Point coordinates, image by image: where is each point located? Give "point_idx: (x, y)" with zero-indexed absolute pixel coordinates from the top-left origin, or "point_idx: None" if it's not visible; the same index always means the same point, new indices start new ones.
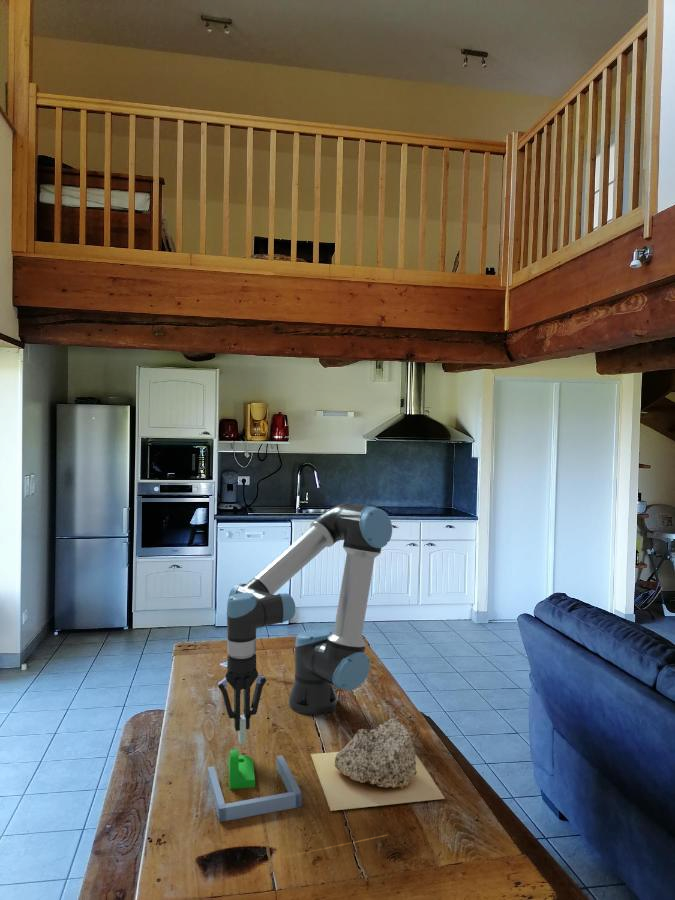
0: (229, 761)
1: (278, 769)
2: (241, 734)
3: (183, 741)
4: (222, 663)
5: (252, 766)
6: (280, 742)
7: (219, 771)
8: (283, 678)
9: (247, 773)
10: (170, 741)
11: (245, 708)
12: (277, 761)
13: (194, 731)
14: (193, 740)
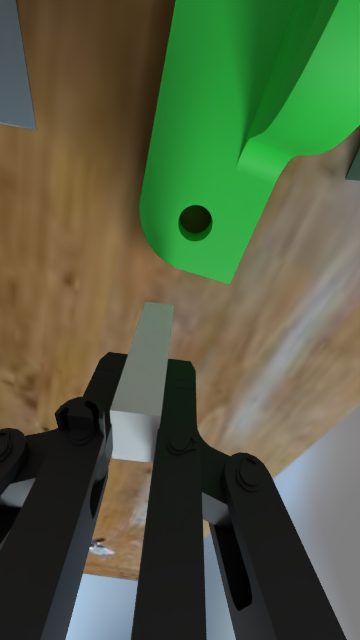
0: (248, 239)
1: (19, 68)
2: (163, 334)
3: (288, 424)
4: (109, 553)
5: (159, 127)
6: (13, 319)
7: (290, 226)
8: None
9: (215, 36)
10: (316, 434)
11: (71, 540)
12: (3, 95)
13: (240, 445)
14: (262, 419)
